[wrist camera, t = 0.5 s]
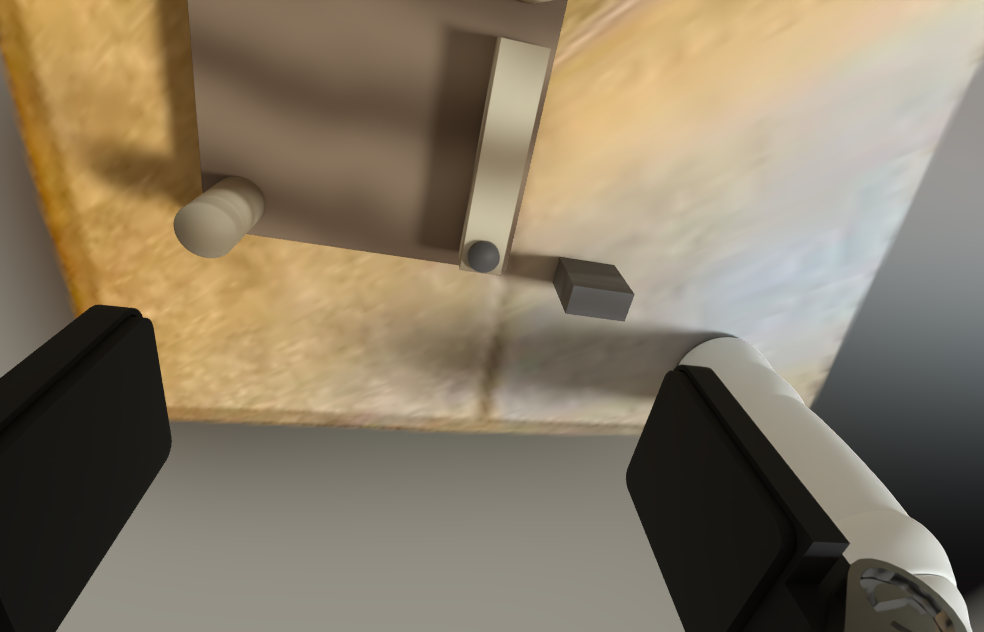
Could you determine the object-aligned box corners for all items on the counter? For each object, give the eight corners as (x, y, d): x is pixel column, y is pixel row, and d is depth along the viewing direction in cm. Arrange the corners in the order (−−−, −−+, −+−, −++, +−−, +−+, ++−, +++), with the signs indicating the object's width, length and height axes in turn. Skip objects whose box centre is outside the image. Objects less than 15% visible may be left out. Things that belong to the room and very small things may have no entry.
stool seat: (198, -161, 23) (103, -230, 17) (712, -26, 28) (794, -40, 21) (223, 235, 33) (168, 287, 26) (606, 290, 37) (640, 347, 30)
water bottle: (662, 405, 43) (883, 795, 21) (680, 333, 39) (965, 713, 18) (743, 402, 43) (1037, 779, 22) (767, 332, 40) (1146, 698, 18)
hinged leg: (496, 259, 32) (500, 278, 30) (458, 253, 32) (459, 272, 29) (542, 46, 26) (552, 48, 24) (496, 36, 26) (502, 37, 23)
